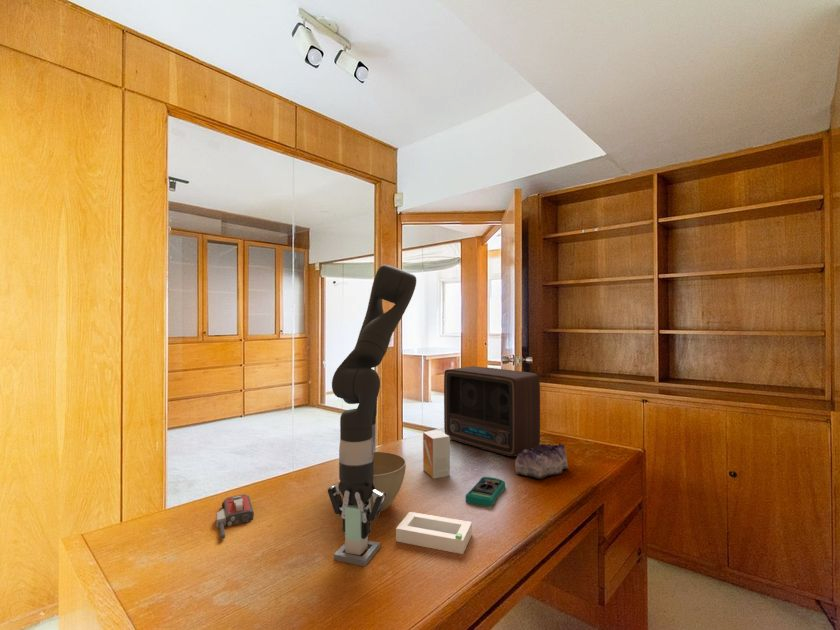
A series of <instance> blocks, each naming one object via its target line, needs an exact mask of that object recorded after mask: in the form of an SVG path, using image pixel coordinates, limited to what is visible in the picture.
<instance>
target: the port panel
mask: <svg viewBox="0 0 840 630" xmlns="http://www.w3.org/2000/svg"><path fill="white" fill-rule="evenodd" d="M472 535H473V522H472V521H467V520H461V519H456V518H450V517H445V516H444V517H443V516H439V515H431V514H426V513H420V512H414V511H409V512H408V513H407V514H406V515H405V516H404V518H403V519H402V521H400V523H399V524H398V525H397V527H396V528H395V541H396V542H397V543H403V544H407V545H413V546H418V547H419V546H420V547H423V548H430V549H435V550H439V551H445V552H449V553H455V554H461V555H464V553H465V550H466V549H467V546H468V544H469V541H470V540H471V537H472Z"/></svg>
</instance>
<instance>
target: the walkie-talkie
mask: <svg viewBox="0 0 840 630" xmlns="http://www.w3.org/2000/svg"><path fill="white" fill-rule="evenodd" d="M251 502H252V501H251V499H250V496H249V495H247V494H245V493H244V494H240V495H234V496H228V497H227V498H225V499H223V502H221V508H222V509H221V510H219V511H218V512H216V520H215V521H216V522H215V525H216V528H219V537H220V539H223V540H224V539H225V538H226V530H225V527H231V526H234V525H236V524H242V523H243V524H246V523H248V522H250V521H251V520H252V521H253V520H254V516H255V515H254V510H253V505H252V503H251ZM225 525H227V526H225Z"/></svg>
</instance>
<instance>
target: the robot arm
mask: <svg viewBox="0 0 840 630" xmlns="http://www.w3.org/2000/svg"><path fill="white" fill-rule="evenodd" d="M416 286H417V277H416V276H415V274H412V273H410V272H409V271H406V270H403V269H400V268H397V267H395V266H393V265H390V264H382V265H380V266H379V268H378V269H377V271H376V273H375V276H374V279H373V282H372V286H371V291H370V295H369V300H368V305H367V309H366V313H365V316H364V319H363V321H362V326H361V328H360V331H359V333H358V334H359V335H358V336H357V340H356V344H355V346H354V348H353V349H352V351H351V352H350V353H349V354H348V355H347V356H346V357H345V358H344V359H343V361H342V362H341V363H340V364H339V366H338V367H337V368H336V369H335V372H334V374H333V376H332V379H331V390H332V392H333V394H334V396H335V397H336V398H338V399H342V400H343V401H344V403H345V404H349V405H356V404H357V405H358V406H357V408H352V409H347V410H345V411H343V412H342V413H341V414H340V418H339V425H340V428H339V429H340V430H339V433H340V434H339V435H340V437H339V438H340V439H339V447H338V466H339V467H338V474H339V475H338V477H339V483H338V484H336V483H335V484H333V485H331V486H330V487H329V488H328V489H327V494H328V496H329V497H328V498H329V499H330V503H331V505H332V509H333V512H334V514H335V515H339V516H341V519H342V532H343V533H344V535H345V507H348V506H349V505H357V506H358V509H360V512H361V518H362V522H361V538H362V539H365V538H366V537H367V536H368V537H369V535H370V534H371V532H372V531H371V530H372V529H371V526H372V525H371V522H374V521H375V520H376V518H378V517H379V515H380V513H381V512H382V511H381V508H382V505H383V503H384V500H385V497H386V493H385V492H382V493H380V492H378V491H377V490H375V486H374V484H373V477H374V463H373V458H374V453H373V452H377V437H376V435H377V424H376V421H377V414H378V413H377V411H378V397H379V394H380V393H379V392H380V389H381V377H380V376H379V374H378V372H377V371H376V370H375V369H373V368H376V367H378V366H379V365H380V364H381V363H382V360H383V359H384V357H385V355H386V353H387V351H388V347H389V345H390V342H391V339H392V336H393V333H394V332H395V330H396V328H397V327H398V324H399V323H400V321H401V320H402V318H403V317H404V314H405V312H406V310H407V308H408V307H409V304H410V302H411V301H412V297H413V295H414V293H415V290H416ZM383 300H384V301H387V302H390V303H392V304H394V305H393V306H392V307H391V308H390V309H389V310H387V311H385V312H384V309H383V308H384V307H383ZM372 495H373V502H375V503H374V506H373V509H372V511H371V509H370V507H371V503H370V497H371V496H372ZM342 497H343V498H342ZM364 504H365V505H364ZM380 511H381V512H380Z"/></svg>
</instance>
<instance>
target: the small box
mask: <svg viewBox="0 0 840 630" xmlns="http://www.w3.org/2000/svg"><path fill="white" fill-rule="evenodd" d="M422 440H423V441H422V445H423V446H422V457H423V458H422V466H423V467H422V468H423V471H424V472H425V473H426V474H428V475H429V476H430V477H431V478H432V479H437V478H442V477H443V478H444V477H449V476H450V475H451V468H450V467H451V464H450V463H451V456H450V454H451V453H450V451H451V450H450V449H451V447H450V440H451V439H450V437H449V436H448V435H446V434H445V432H443V431H441V430H440V429H439V430H430V431H425V432H422Z"/></svg>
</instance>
